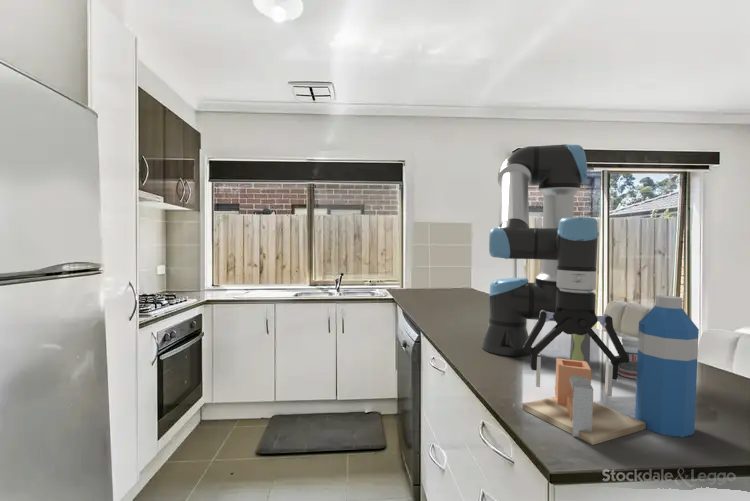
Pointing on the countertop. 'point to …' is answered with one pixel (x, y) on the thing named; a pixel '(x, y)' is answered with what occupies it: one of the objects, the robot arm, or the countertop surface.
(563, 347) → the countertop surface
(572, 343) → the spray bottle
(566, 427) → the board
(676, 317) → the water bottle
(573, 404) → the block
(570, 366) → the link
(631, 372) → the pill bottle
